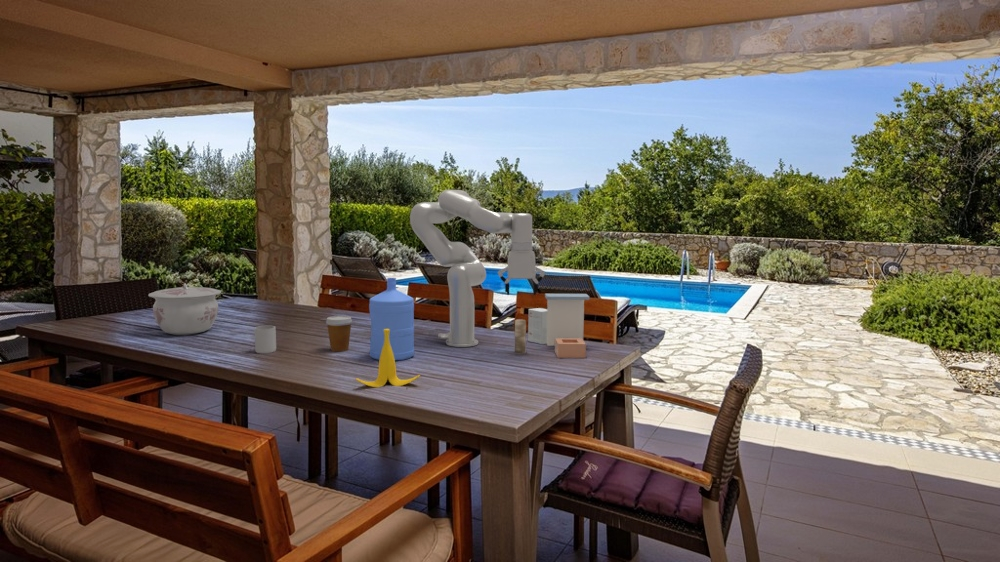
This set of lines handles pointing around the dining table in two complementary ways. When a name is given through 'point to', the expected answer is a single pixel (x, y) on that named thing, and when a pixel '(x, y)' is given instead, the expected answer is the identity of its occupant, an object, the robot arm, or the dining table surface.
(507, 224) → the robot arm
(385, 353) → the banana peel
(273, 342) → the cup
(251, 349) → the dining table surface
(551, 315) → the lidded rectangular box
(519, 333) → the peg
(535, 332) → the small box
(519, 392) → the dining table surface
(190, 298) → the chamber pot
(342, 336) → the disposable coffee cup
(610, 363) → the dining table surface
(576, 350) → the socket
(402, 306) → the water jug
